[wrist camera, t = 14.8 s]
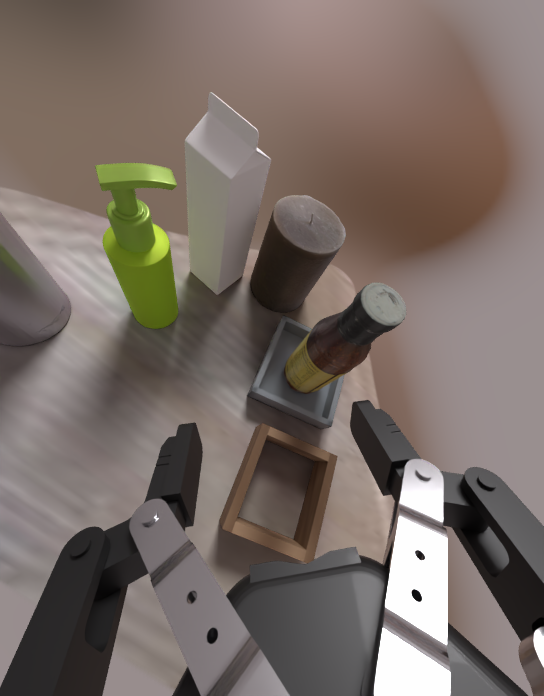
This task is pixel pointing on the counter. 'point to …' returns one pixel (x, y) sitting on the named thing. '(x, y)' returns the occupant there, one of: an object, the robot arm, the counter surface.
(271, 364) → the tray
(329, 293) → the counter surface
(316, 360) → the sauce bottle
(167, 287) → the soap dispenser
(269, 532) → the collar
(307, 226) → the pillar candle
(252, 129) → the milk
